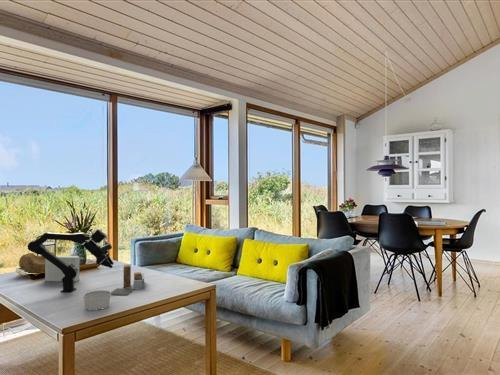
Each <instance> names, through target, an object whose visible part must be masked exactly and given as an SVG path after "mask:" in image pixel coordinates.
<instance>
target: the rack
mask: <svg viewBox="0 0 500 375" xmlns="http://www.w3.org/2000/svg"><path fill="white" fill-rule="evenodd" d="M141 273H142V280H134V279H133V289H135V288H142V289H145V272H141ZM135 290H136V289H135Z"/></svg>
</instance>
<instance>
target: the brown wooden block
mask: <svg viewBox="0 0 500 375" xmlns="http://www.w3.org/2000/svg"><path fill="white" fill-rule="evenodd" d="M131 266H132V264H123V289H127V288H126V287H130V288H131V282H132V280H131V279H132V275H131V273H132V271H131V269H132V268H131Z"/></svg>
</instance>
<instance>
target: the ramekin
mask: <svg viewBox="0 0 500 375" xmlns="http://www.w3.org/2000/svg"><path fill="white" fill-rule="evenodd" d="M111 292H112V291H109V290H99V289H98V290H93V291H89V292H88V291H87V292H86V293H84V295H83V301H84V308H85V309H86V310H87V309H90V310H89V311H91V310H95V311H97V310H96V309H102V308H105V309H107V308H108V307H109V305H110V302H111V296H112V295H111ZM107 306H108V307H107ZM106 307H107V308H106ZM102 310H103V309H102Z"/></svg>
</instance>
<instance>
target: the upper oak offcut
mask: <svg viewBox="0 0 500 375" xmlns="http://www.w3.org/2000/svg"><path fill="white" fill-rule="evenodd" d="M142 273H143V272H141V271H138V272H135V271H134V272H133V281H134V280H142Z"/></svg>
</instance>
